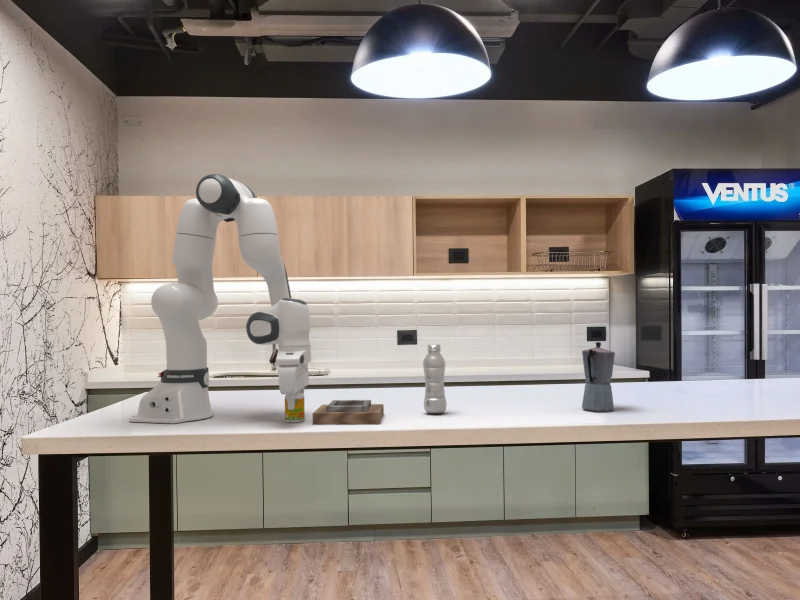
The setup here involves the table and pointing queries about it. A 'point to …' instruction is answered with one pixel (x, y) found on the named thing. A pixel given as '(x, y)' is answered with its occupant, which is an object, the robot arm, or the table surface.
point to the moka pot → (598, 379)
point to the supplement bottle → (296, 413)
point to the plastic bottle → (434, 381)
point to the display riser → (349, 412)
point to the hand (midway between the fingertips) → (295, 406)
